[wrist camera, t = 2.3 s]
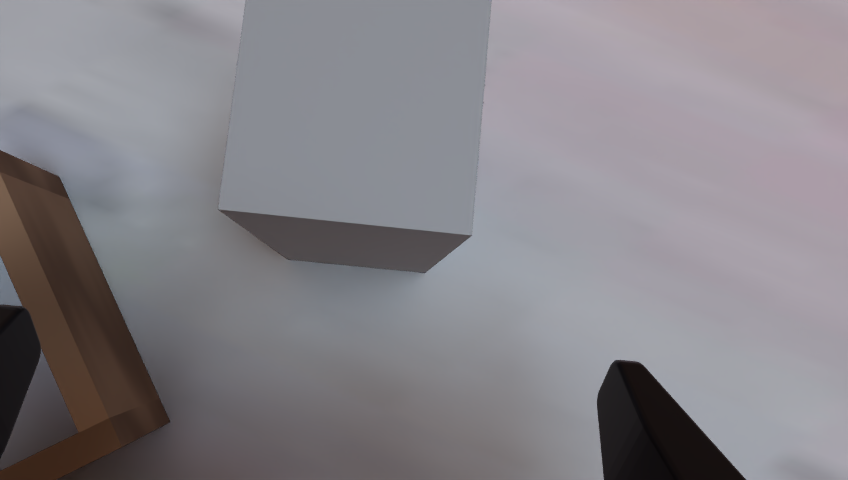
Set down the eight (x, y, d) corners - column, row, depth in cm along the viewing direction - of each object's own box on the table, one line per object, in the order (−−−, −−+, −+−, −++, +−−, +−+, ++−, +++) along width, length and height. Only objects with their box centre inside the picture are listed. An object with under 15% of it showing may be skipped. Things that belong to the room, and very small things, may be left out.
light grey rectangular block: (424, 272, 22) (471, 235, 12) (288, 259, 21) (217, 209, 11) (437, 141, 22) (491, -1, 12) (303, 126, 22) (249, -32, 12)
